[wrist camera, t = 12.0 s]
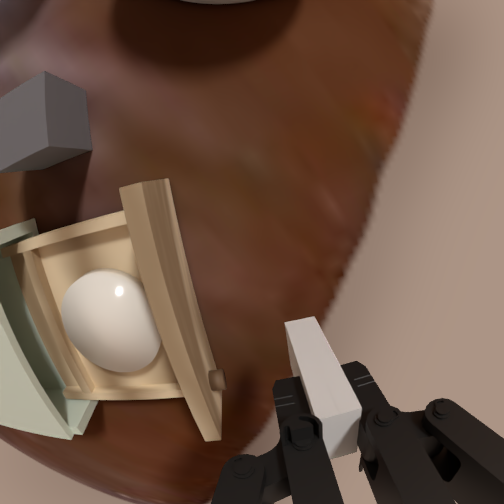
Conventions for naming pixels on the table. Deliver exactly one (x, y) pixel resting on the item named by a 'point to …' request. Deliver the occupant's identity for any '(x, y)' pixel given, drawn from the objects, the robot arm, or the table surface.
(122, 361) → the white smooth rounded piece
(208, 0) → the donut shape
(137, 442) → the table surface
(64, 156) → the block
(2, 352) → the drawer cabinet
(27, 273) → the wooden drawer
